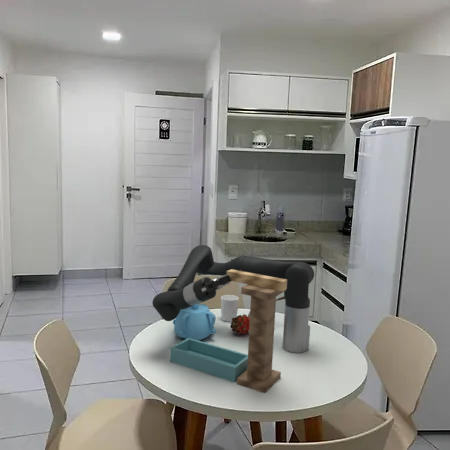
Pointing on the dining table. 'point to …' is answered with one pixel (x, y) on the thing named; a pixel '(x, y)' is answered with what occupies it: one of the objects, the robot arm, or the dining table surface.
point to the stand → (260, 339)
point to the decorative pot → (195, 322)
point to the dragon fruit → (240, 324)
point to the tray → (209, 359)
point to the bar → (258, 280)
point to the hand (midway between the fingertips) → (236, 275)
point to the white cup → (229, 307)
